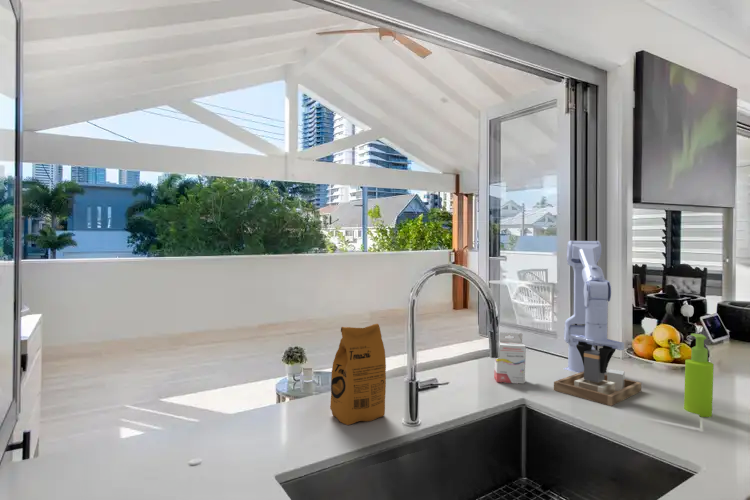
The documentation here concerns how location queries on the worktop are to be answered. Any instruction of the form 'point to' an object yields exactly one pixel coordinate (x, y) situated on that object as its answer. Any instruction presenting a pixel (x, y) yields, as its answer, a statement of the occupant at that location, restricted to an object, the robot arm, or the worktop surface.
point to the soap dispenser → (699, 380)
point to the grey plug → (616, 378)
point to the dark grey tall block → (592, 366)
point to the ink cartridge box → (511, 359)
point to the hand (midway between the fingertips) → (595, 370)
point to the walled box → (596, 389)
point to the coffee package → (359, 376)
